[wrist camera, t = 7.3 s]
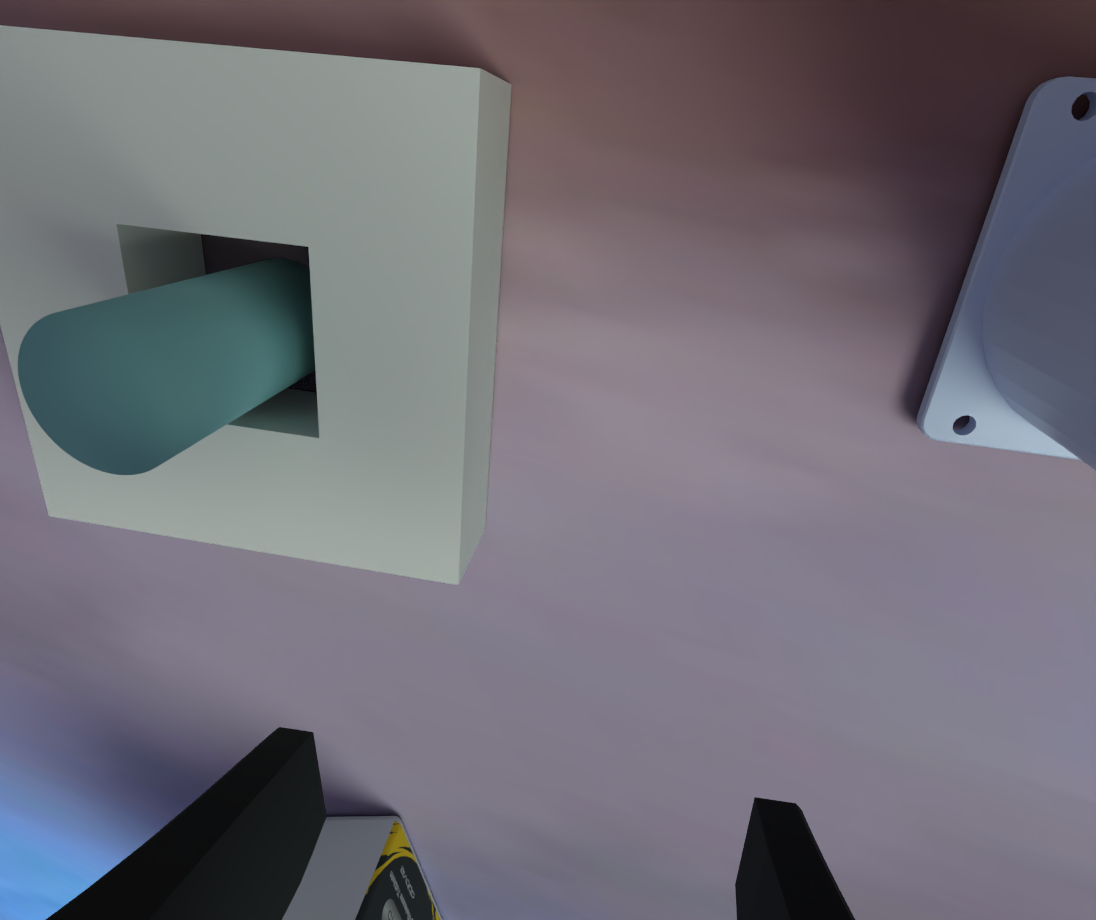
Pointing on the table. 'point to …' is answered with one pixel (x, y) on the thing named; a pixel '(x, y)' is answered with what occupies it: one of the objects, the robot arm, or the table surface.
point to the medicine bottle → (363, 874)
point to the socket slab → (288, 218)
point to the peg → (167, 363)
